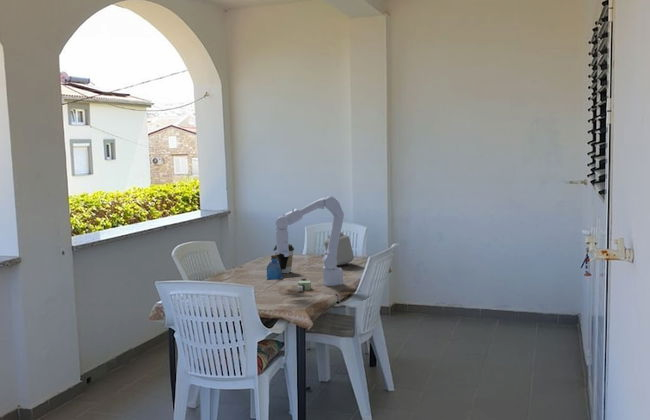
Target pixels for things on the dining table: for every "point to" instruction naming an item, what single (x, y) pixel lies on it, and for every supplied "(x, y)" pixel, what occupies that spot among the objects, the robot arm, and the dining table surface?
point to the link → (301, 287)
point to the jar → (342, 249)
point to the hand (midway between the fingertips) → (283, 269)
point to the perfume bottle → (274, 269)
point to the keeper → (306, 283)
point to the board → (294, 289)
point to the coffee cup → (289, 262)
